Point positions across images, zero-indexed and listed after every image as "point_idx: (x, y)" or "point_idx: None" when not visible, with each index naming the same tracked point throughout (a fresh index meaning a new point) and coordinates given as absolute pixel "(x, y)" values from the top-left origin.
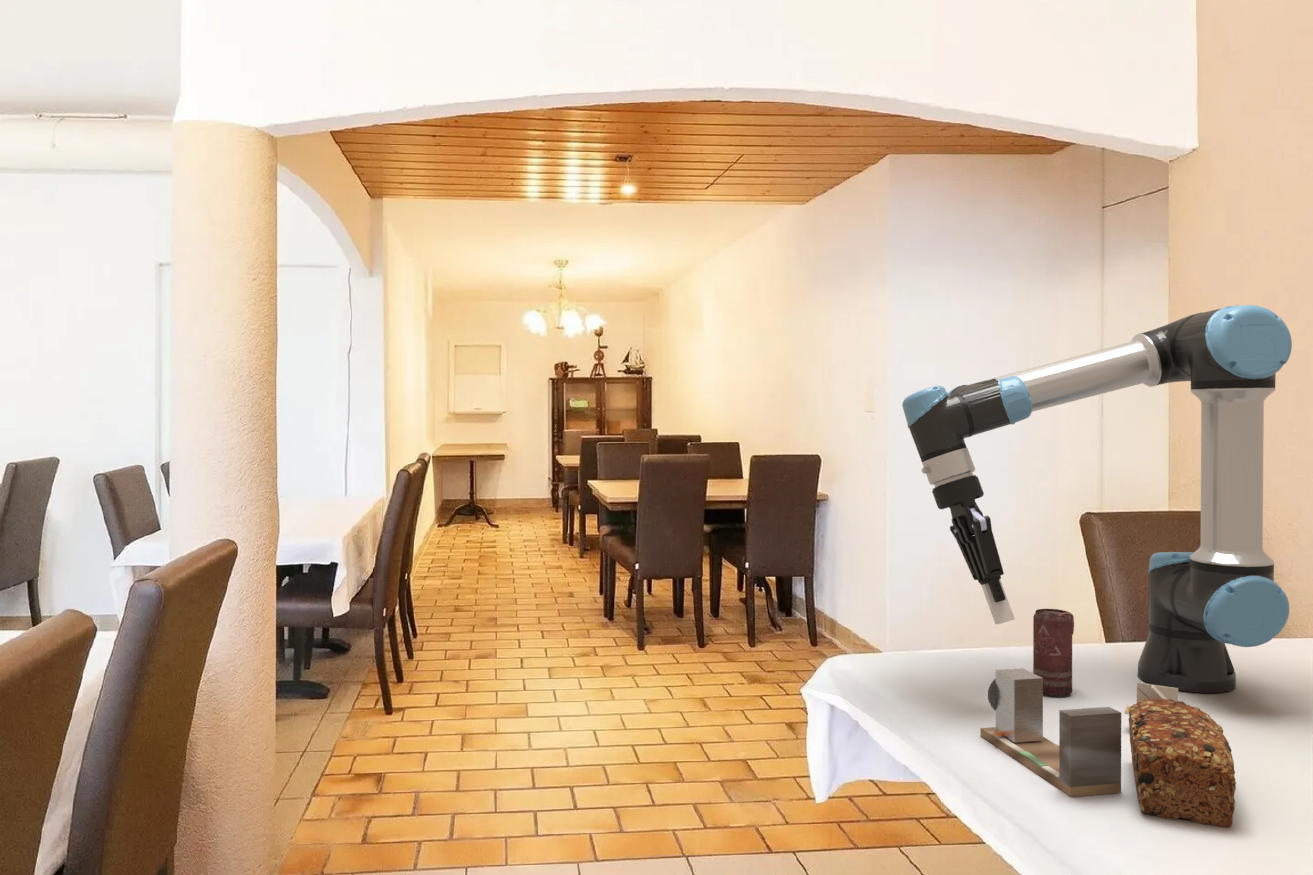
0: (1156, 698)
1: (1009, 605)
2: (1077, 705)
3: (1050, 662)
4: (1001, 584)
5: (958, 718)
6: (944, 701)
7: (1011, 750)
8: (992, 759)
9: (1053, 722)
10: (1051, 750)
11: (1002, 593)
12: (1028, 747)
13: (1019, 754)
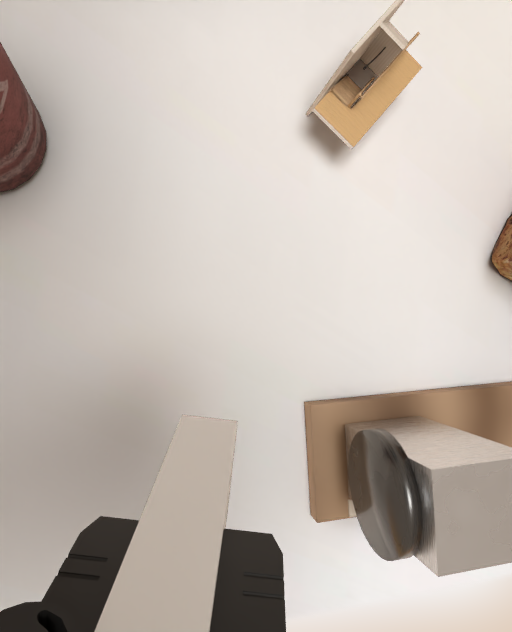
0: (368, 41)
1: (230, 469)
2: (122, 145)
3: (2, 133)
4: (211, 603)
5: None
6: (25, 510)
7: None
8: None
9: (244, 290)
10: (462, 420)
11: (281, 586)
12: None
13: None
